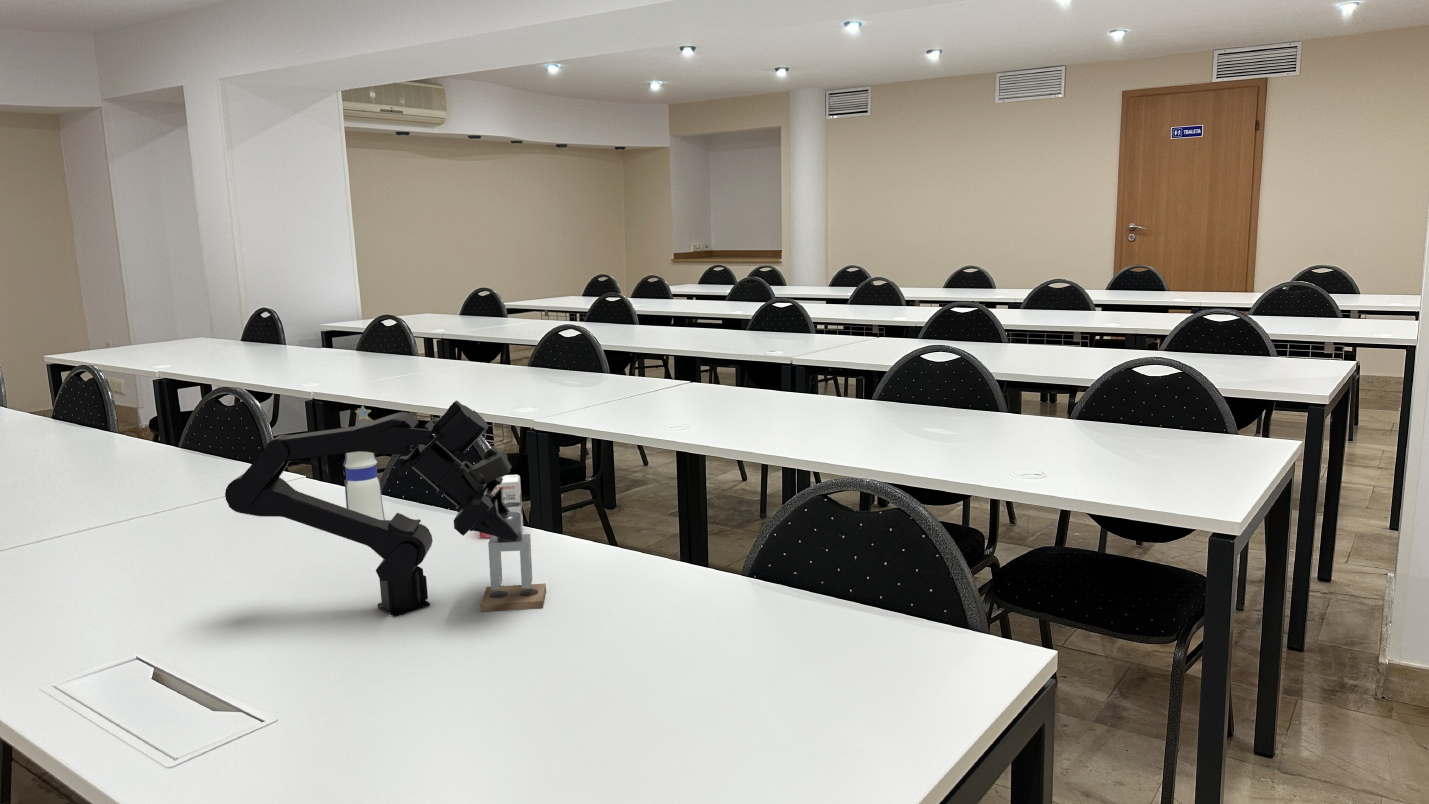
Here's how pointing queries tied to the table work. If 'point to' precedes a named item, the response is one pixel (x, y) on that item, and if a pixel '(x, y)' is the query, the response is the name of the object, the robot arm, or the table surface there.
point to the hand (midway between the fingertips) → (517, 534)
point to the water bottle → (363, 481)
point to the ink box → (510, 496)
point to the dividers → (502, 545)
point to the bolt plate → (513, 598)
